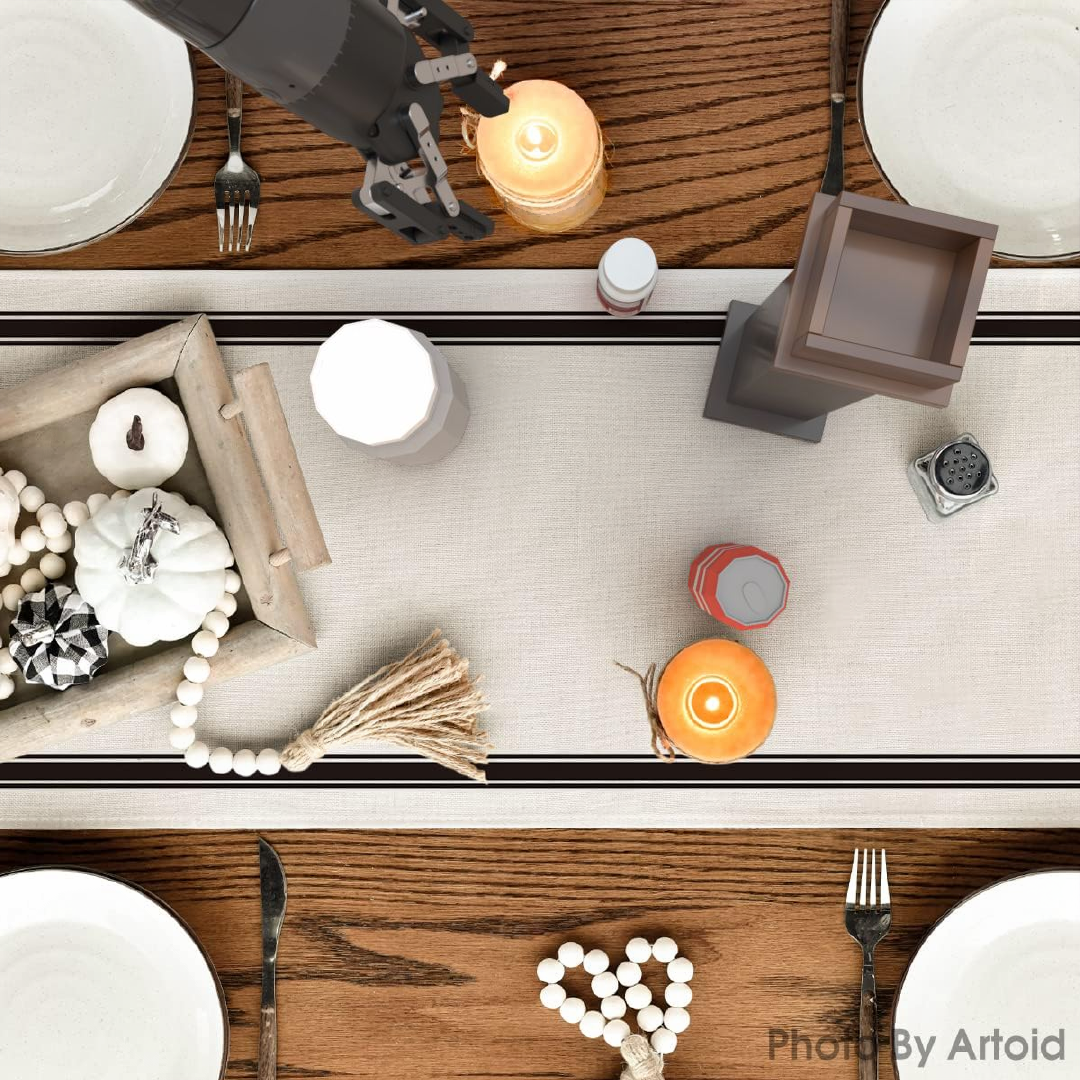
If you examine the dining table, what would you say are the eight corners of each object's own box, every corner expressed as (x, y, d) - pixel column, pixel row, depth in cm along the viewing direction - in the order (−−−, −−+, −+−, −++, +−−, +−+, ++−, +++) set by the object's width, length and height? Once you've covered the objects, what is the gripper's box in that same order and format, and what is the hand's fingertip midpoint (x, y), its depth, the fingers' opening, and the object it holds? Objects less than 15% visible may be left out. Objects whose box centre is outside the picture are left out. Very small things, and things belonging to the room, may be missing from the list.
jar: (491, 437, 79) (469, 414, 61) (389, 487, 80) (338, 479, 62) (441, 334, 79) (404, 281, 61) (339, 385, 80) (273, 347, 62)
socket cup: (810, 197, 53) (831, 171, 49) (983, 236, 52) (1018, 213, 48) (769, 369, 53) (785, 357, 49) (940, 409, 53) (971, 400, 49)
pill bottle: (623, 250, 79) (630, 218, 70) (663, 290, 79) (674, 263, 70) (583, 290, 79) (585, 263, 71) (623, 329, 79) (629, 308, 71)
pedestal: (729, 302, 79) (810, 197, 53) (844, 328, 78) (983, 236, 52) (701, 417, 79) (769, 369, 53) (816, 444, 79) (940, 409, 53)
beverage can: (708, 628, 79) (734, 648, 67) (674, 562, 79) (694, 570, 67) (772, 596, 79) (809, 610, 67) (738, 529, 79) (768, 532, 67)
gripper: (327, 143, 47) (524, 263, 59) (363, -119, 48) (548, 54, 61) (238, 173, 51) (439, 280, 64) (273, -66, 52) (463, 85, 65)
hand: (492, 170), depth 62 cm, fingers open, 8 cm apart
